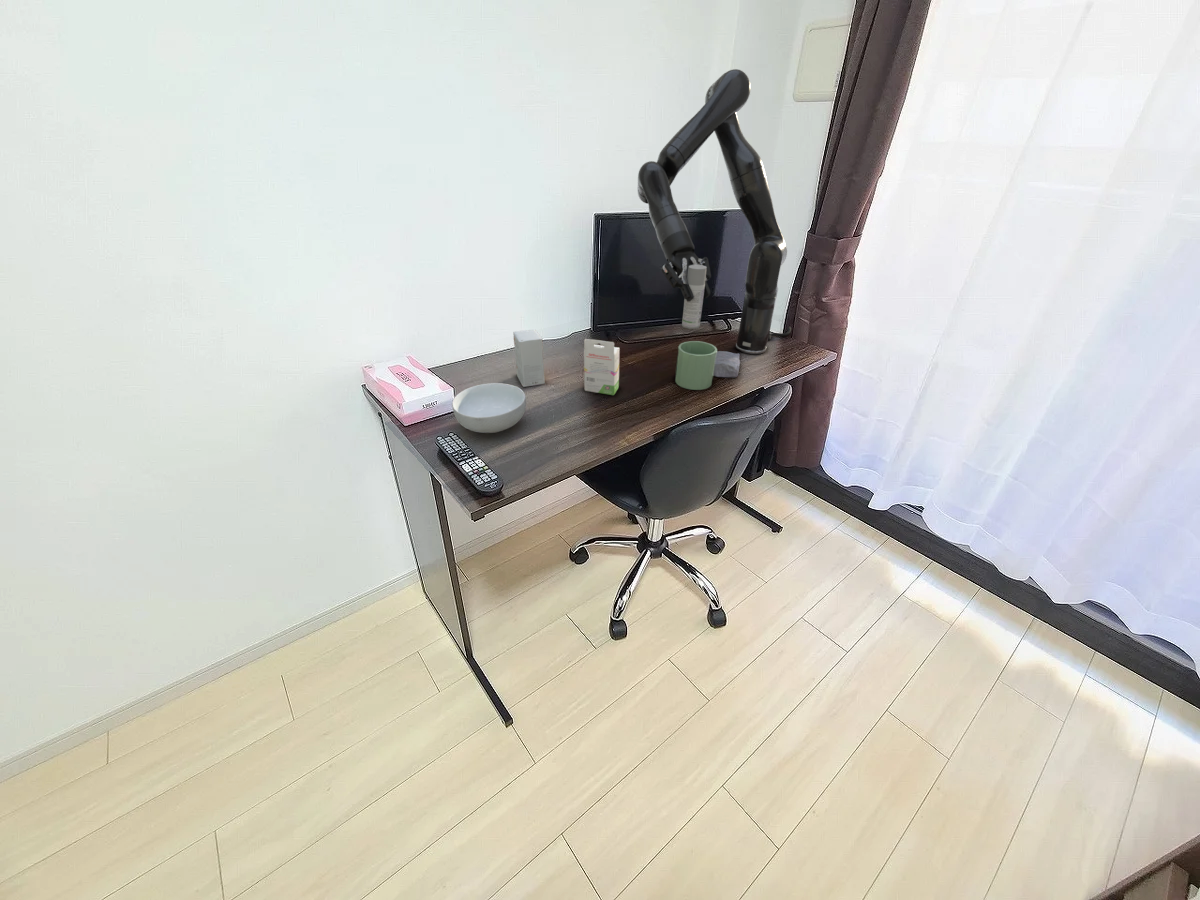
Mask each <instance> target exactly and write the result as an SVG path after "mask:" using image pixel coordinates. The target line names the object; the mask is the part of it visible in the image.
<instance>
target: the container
mask: <svg viewBox="0 0 1200 900" xmlns="http://www.w3.org/2000/svg"><path fill="white" fill-rule="evenodd" d="M706 268H707V267H706V266H703V265H690V266H689V267H688V274H687V284H689V286H690V288H691V291H692V293H693V296H694V298H693V299H692V300H691V301H689V302H687V300H686V299H685V298H684V300H683V311H682V320H681V327H682V328H685V329H689V330H696V329H699V328H700V326H701V319H702V311H703V303H704V298H703V297H704V289H705V278H706Z"/></svg>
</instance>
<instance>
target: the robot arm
mask: <svg viewBox="0 0 1200 900" xmlns="http://www.w3.org/2000/svg"><path fill="white" fill-rule="evenodd" d="M751 89H752V87H751V82H750V79H749V76H748V74H746V72H744V71H743V70H741V69H737V68H734V69H729V70H728V71H725V72H724V73H723V74H721V76H720V77H718V78H717V79H716V80H715V81H714V82H713V83H712V84H711V85H710V86H709V87H708V89H707V90H706V93H705V98H704V105H703V106H702V107H701V108H700V109H699V110H698V111H697V112H696V113H695V114H694V116H692V117H691V118H690V119H689V120H688V121H686V123H685V124H684V125H683V126H682V127H680V129H679V130H678V131H677V132H676V133H675V134H674V135H673V137H671V139H669V141H668V142H667V143H666V144H665V145H664V147H662V149H661V150H660V152H659V154H658V157H657V160H656V161H653V160H649V161H645V163H644V164H642V165H641V167H640V168H639V170H638V173H637V196H638V198H639V199H640V201H641V202H643V203H644V204H648V214H649V217H650V220H651V223H652V225H653V228H654V230H655V234H656V237H657V241H658V243H659V245H660V247H661V250H662V252H663V255H664V258H665V260H666V261H667V262H665V263H664V265H663V266H662V267H661V269H660V271H661V272H662V274H663V275H664V276H665V279H666V280H667V282H668V283H669V284H670V286H671V287H672V288H673V289H675V288H678V289H679V290H680V291H681V294H682V296H683V298H684V300H685V299H686V300H687V302H689V301H691V300H692V299H693V298H694V296H693V293H692V291H691V288H690V286H689V284H687V274H688V267H689V266H690V265H703V266H706V267H707V268H706V278H705V289H704V297H703V299H708V298H709V297H710V296H711V288H710V287H709V284H708V281H709V280H710V279H711V278H712V273H711V267H710V262H709V258H708V257H707V256H703V258H699V256H698V255H697V254H696V253H695V245H694V243H693V241H692V238H691V235H690V232H689V231H688V228H687V225H686V224H685V222H684V220H683V218H682V216H681V214H680V212H679V210H678V207H677V205H676V203H675V201H674V197H673V193H672V188H671V186H672V184H673V182H674V181H675V179H676V177H677V176H678V174H679V173H680V172H681V171H682V169H684V167H685V166H686V165H687V164H688V163H689V161H690V160H691V159H693V157H694V156H695V155H696V153H697V152H698V151H699V150H700V148H702V146H703V145H704V144H705V142H706V141H707V140H708V139H709V138H710V137H711V136H712V134H713V133H715V136H716V139H717V141H718V144H719V147H720V150H721V153H722V156H723V157H722V158H723V161H724V163H725V166H726V171H727V173H728V178H729V181H730V185H731V189H732V193H733V195H734V198H735V200H736V203H737V205H738V207H739V209H740V210H741V212H742V214H743V215H744V217H745V218H746V220H747V222H748V224H749V226H750V229H751V233H752V237H753V242H754V246H753V247H752V248H751V250H750V252H749V257H748V261H747V267H746V273H745V274H746V276H745V292H744V298H743V304H742V310H741V315H740V320H739V321H740V322H739V328H738V334H737V339H736V343H735V349H736V350H737V351H738V352H740V353H744V354H748V355H761V354H764V353H766V351H767V346H768V341H771V340H772V339H771V338H772V337H787V336H789V335H790V334H791V332H792V327H791V326H788V327H787V331H786V332H771V326H772V323H773V316H774V312H775V307H776V301H777V296H778V291H779V287H778V280H779V276H780V271H781V267H782V265H783V264H784V263H785V261H786V260H787V257H788V247H787V243H786V241H785V239H784V236H783V233H782V231H781V228H780V225H779V222H778V221H777V218H776V214H775V209H774V204H773V199H772V195H771V189H770V187H769V186H770V185H769V182H768V177H767V173H766V170H765V167H764V162H763V160H762V158H761V155H759V153H758V152H757V151H756V149H755V148H754V147H753V146H752V145H751V144H750V142H749V141H748V140H747V139H746V137H745V136H744V133H743V131H742V128H741V126H740V122H739V118H738V114H737V113H738V112H739V111H740V110H742V108H743V107H744V106H745V105H746V104H747V102H748V100H749V98H750V95H751Z"/></svg>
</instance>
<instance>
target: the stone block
mask: <svg viewBox="0 0 1200 900" xmlns="http://www.w3.org/2000/svg"><path fill="white" fill-rule="evenodd" d="M740 355H741V354H740V353H735V352H730V351H725V350H723V351H722V350H719V351H718V350H717V355H716V362H715V369H714V375H713V377H716V378H732V379H733V378H734V379H735V378H737V377H738V376H739V371H740V365H741V364H740V363H741V360H740V357H741V356H740Z"/></svg>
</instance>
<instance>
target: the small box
mask: <svg viewBox="0 0 1200 900" xmlns="http://www.w3.org/2000/svg"><path fill="white" fill-rule="evenodd" d="M513 345H514V346H513V347H514V358H515V369H516V371H515V372H516V376H517V379H518V381H519V382H520V384H521V386H522V388H525V387H530V386H533V387H534V386H540V385H544V384H546V377H545V362H544V346H543V345H544V343H543V338H542V337H541V335H540V334H539V333H538V331H537V330H536V329H525V330H516V331H513Z"/></svg>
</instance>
